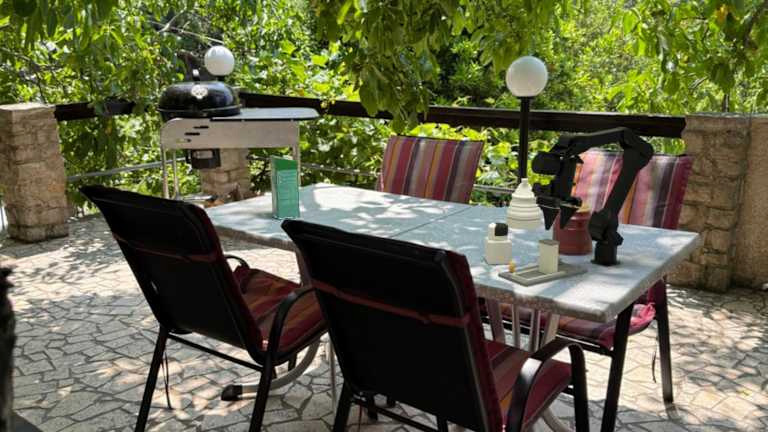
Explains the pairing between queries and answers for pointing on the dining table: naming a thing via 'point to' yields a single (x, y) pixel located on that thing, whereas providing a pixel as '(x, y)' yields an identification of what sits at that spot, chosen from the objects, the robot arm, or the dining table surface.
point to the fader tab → (548, 256)
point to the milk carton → (284, 186)
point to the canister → (574, 233)
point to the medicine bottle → (498, 244)
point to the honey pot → (524, 209)
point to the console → (533, 276)
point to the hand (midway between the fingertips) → (554, 229)
